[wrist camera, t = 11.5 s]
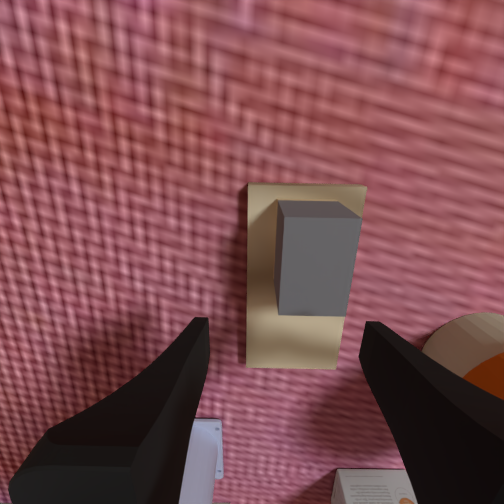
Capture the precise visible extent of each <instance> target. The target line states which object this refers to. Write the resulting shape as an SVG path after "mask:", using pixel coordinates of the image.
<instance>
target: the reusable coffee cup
mask: <svg viewBox="0 0 504 504" xmlns="http://www.w3.org/2000/svg"><path fill="white" fill-rule="evenodd" d="M422 352H423V353H424V354H426V355H427V356H428V357H430V358H431V359H433V360H434V361H436V362H437V363H439V364H441V365H442V366H444V367H445V368H447V369H448V370H450V371H451V372H453V373H455V374H456V375H458V376H460V377H462V378H463V379H465V380H467V381H468V382H470V383H472V384H474V385H475V386H477V387H479V388H481V389H483V390H485V391H487V392H489V393H490V394H492V395H494V396H496V397H498V398H500V399H502V400H504V316H503V315H499V314H495V313H473V314H469V315H465V316H462V317H459V318H457V319H454V320H452V321H450V322H449V323H447V324H445V325H443V326H442V327H441V328H439V329H438V330H437V331H436V332H435V333H434V334H433V335H432V336H431V337H430V338H429V339H428V340H427V342H426V344H425V345H424V347H423V349H422Z"/></svg>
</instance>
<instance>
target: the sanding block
mask: <svg viewBox="0 0 504 504" xmlns="http://www.w3.org/2000/svg"><path fill="white" fill-rule="evenodd" d="M361 225H362V218H361V217H360V216H358V215H357V214H355V213H354V212H353V211H351V210H350V209H348V208H347V207H345V206H344V205H343V204H341V203H340V202H338V201H337V200H331V199H278V198H277V212H276V231H275V251H274V270H273V279H274V287H275V294H276V302H277V309H278V315H287V316H336V317H346V311H347V305H348V300H349V294H350V288H351V282H352V277H353V271H354V265H355V259H356V253H357V248H358V242H359V236H360V230H361Z"/></svg>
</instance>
